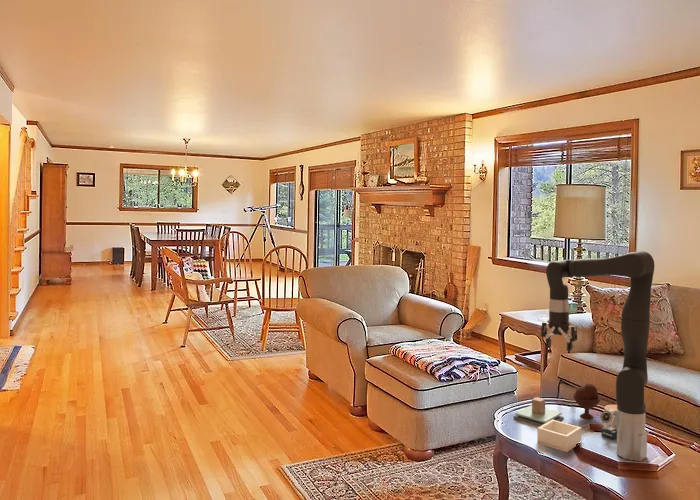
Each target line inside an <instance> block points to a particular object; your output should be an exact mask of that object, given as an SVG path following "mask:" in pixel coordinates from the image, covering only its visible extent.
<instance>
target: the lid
mask: <svg viewBox="0 0 700 500" xmlns="http://www.w3.org/2000/svg"><path fill="white" fill-rule="evenodd" d="M562 414H563V413H562V412H561V411H557V410H554V409H549V408H547V407H546V399H545V398H542V397H538V396H536V397H534V398H532V399H531V404H530V405H528V406H527V407H524V408H523V409H520V410H518V411H517V412H515V415H518V416H522V417H525V418H529V419H533V420H536V421H540V422H543V423H547V422H549V421H551V420H552V419H554V418H556V417H558V416H562ZM515 415H514V416H515Z"/></svg>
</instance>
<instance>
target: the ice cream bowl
mask: <svg viewBox="0 0 700 500" xmlns="http://www.w3.org/2000/svg"><path fill="white" fill-rule="evenodd" d="M573 399H574V401H575V402H576V404H577V405H578V406H580V407H581V408H583V410H584V412H583V413H582V414H580V415H579V418H580V419H583V420H588V421H589V420H593V419H594V416H593V415H592V414H591V413H590V409H593V408H596V406H597V405H599V403H600V402H601V399H602V396H600V395H599V394H598V389H597V387H596V386H595V385H594V384H593V383H585V385H583V386H580V387H578V388H577V389H576V390H575V393H573Z"/></svg>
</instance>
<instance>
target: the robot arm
mask: <svg viewBox="0 0 700 500" xmlns="http://www.w3.org/2000/svg"><path fill="white" fill-rule="evenodd" d="M545 269H546V270H545V274H546V279H547V283H548V284H547V285H548V287H549V303H548V304H549V305H548V321H544V322H541V329H540V331H541V332H540V333H541V337H543V338H545V347H546V348H547V349H550V348H552V337H553V335H559V336H562V337H563V338H564V339H565V340H566V341H567V342H566V351H567V352H571V351H573V343H574V342H576V341H578V326H577V325H570V324H569V323H570V303H569V287H568V285H567V284H564V281H563V278H570V277H571V278H572V277H574V278H590V277H599V276H600V277H601V276H617V277H625V278H630V286H629V292H628V295H627V297H626V299H625V302H624V305H623V307H622V311H621V317H620V318H621V321H620V322H621V323H620V332H621V338H622V343H623V348H624V358H623V364H622V369H621V370H620V371H619V372H618V374H617V375H616V380H615V400H616V405H618V407H617V440H616V455H617V454H618V455H619V456H621V457H623V458H622V459H624V458H626V459H625V460H627V459H630V460H629V461H632V460H635V461H636V462H640V461H641V462H642V461H644V460H645V458H646V457H647V455H648V454H647V453H648V449H647V448H648V432H647V430H646V403H645V387H646V386H647V383H648V378H649V375H648V365H647V364H648V363H647V353H648V352H647V351H648V344H649V335H650V325H651V324H650V322H651V321H650V320H651V317H650V316H651V314H650V312H651V297H652V296H651V295H652V294H651V293H652V285H653V278H654V273H655V259H654V258H653V256H652V255H651V254H650V253H649V252H647V251H644V250H643V251H642V250H641V251H638V250H637V251H632V252H631V251H630V252H629V253H625V254H621V255H618V256H613V257H607V258H594V257H592V258H577V259H563V260H562V259H560V260H555V261H554V260H553V261H550V262H549V263H548V264H547V266H546V268H545ZM548 328H549V329H550V330H549V331H548ZM570 332H571V333H570ZM618 455H617V456H618ZM619 456H618V457H619ZM621 457H620V458H621ZM635 461H634V462H635Z"/></svg>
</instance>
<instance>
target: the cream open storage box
mask: <svg viewBox="0 0 700 500" xmlns="http://www.w3.org/2000/svg"><path fill="white" fill-rule="evenodd" d="M536 430H537V435H536V436H537V439H536V440H537V441H536V442H537V444H540V445H543V446H547V447H549V448H553V449H557V450H559V451H562V452H566V453H567V452H569V451H571V450H572V449H574V448H575V447H577V446H576V444H577V443H578V442H580V441H581V442H582V427H581V426H578V425H573V424H570V423H566V422H563V421H556V420H551V421H549V422H547V423H545V424H544V425H542V426H538V427H537V429H536Z"/></svg>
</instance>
